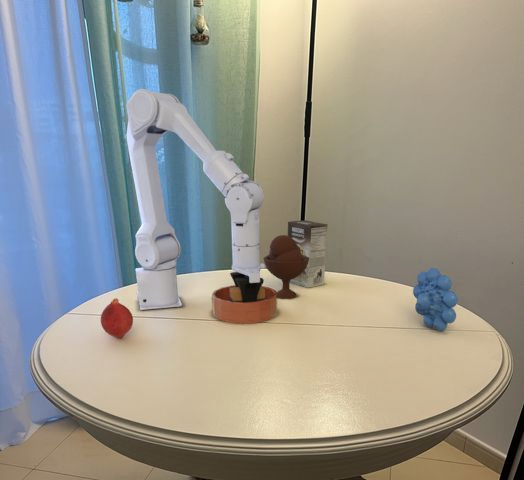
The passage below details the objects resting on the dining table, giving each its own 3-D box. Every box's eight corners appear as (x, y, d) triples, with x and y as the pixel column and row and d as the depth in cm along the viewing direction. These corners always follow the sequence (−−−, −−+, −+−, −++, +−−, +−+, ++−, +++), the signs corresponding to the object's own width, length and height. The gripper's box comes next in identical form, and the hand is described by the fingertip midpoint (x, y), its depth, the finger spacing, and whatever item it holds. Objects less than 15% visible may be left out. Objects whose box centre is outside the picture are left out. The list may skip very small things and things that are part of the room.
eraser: (233, 316, 97) (233, 291, 95) (230, 311, 100) (229, 287, 98) (265, 313, 99) (265, 289, 97) (260, 308, 102) (260, 285, 100)
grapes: (394, 321, 96) (401, 265, 91) (419, 317, 98) (427, 262, 93) (433, 340, 86) (443, 278, 81) (460, 335, 88) (471, 274, 84)
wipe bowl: (219, 326, 93) (218, 305, 92) (208, 306, 106) (207, 287, 104) (285, 319, 97) (285, 299, 95) (266, 300, 109) (266, 282, 108)
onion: (117, 346, 84) (111, 305, 81) (97, 340, 87) (90, 300, 84) (141, 336, 88) (136, 297, 85) (121, 330, 91) (115, 292, 88)
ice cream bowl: (309, 301, 108) (312, 238, 103) (263, 301, 109) (262, 238, 103) (306, 289, 118) (308, 231, 112) (263, 289, 118) (263, 231, 112)
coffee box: (285, 281, 126) (286, 221, 120) (303, 277, 130) (304, 219, 123) (307, 288, 119) (309, 225, 113) (325, 284, 123) (328, 223, 117)
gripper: (274, 249, 88) (274, 315, 93) (255, 237, 101) (256, 296, 106) (239, 251, 86) (241, 319, 92) (224, 239, 99) (226, 298, 105)
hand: (247, 307), depth 99 cm, fingers closed on eraser, 3 cm apart
